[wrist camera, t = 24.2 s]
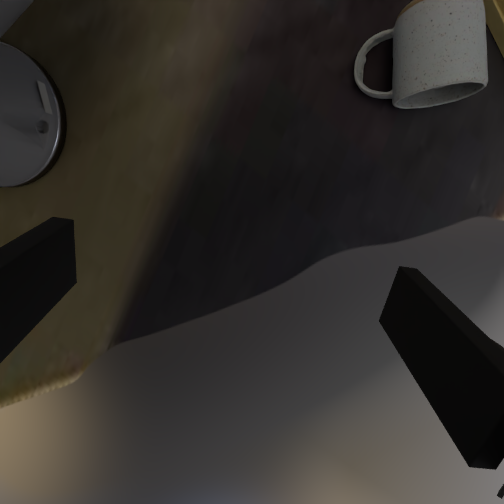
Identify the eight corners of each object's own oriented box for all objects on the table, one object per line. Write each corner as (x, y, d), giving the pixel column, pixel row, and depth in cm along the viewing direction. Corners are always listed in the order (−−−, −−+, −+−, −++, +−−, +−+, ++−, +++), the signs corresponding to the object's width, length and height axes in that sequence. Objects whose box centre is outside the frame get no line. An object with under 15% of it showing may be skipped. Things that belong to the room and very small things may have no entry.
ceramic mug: (458, 16, 33) (509, -34, 26) (458, 103, 35) (507, 80, 27) (349, 34, 35) (368, -9, 27) (354, 117, 36) (373, 99, 28)
